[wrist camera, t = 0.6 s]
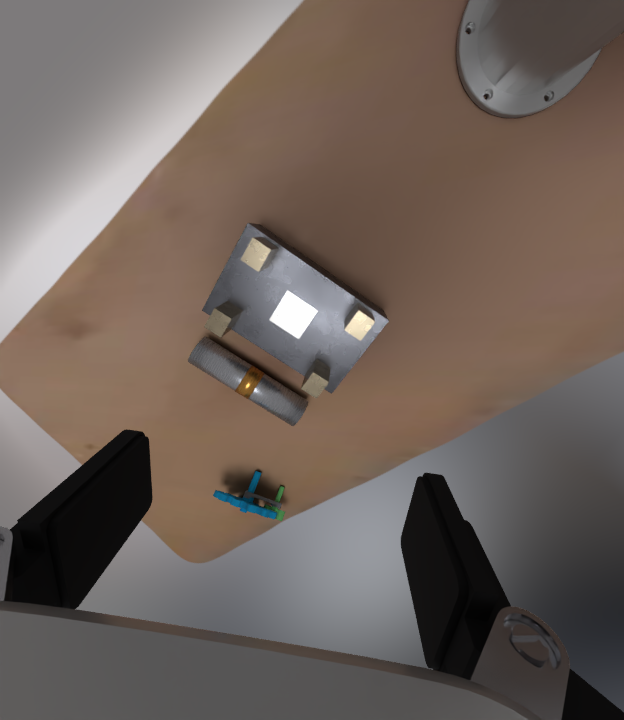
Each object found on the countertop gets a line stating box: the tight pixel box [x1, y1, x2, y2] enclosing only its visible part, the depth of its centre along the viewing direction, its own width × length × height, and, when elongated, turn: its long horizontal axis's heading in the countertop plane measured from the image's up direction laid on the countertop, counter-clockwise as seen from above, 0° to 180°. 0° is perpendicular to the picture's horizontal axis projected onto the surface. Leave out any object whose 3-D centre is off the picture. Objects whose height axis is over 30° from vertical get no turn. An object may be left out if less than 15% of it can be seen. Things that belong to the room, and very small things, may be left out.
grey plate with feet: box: [202, 223, 389, 398], centre depth 37 cm, size 11×18×9 cm, turn 57°
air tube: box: [188, 337, 308, 426], centre depth 43 cm, size 16×4×4 cm, turn 57°
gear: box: [213, 471, 285, 521], centre depth 50 cm, size 11×6×10 cm
